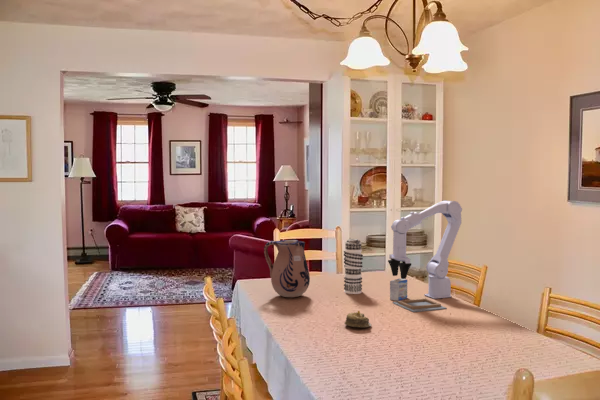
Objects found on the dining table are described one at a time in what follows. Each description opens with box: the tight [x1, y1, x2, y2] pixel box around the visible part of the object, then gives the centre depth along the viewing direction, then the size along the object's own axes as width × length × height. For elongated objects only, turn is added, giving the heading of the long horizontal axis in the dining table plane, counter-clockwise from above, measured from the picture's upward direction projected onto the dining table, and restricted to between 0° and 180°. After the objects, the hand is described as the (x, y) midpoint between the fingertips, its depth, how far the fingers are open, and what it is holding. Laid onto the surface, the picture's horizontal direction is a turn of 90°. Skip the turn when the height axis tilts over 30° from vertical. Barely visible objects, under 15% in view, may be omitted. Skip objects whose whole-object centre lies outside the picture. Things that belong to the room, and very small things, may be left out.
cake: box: [344, 310, 372, 328], centre depth 191 cm, size 10×10×5 cm
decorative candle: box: [343, 238, 364, 295], centre depth 245 cm, size 9×9×25 cm
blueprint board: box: [392, 298, 448, 313], centre depth 219 cm, size 16×16×2 cm
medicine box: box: [389, 278, 408, 302], centre depth 231 cm, size 8×4×9 cm, turn 138°
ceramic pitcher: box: [263, 239, 311, 298], centre depth 237 cm, size 18×21×25 cm
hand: (399, 277), depth 231 cm, fingers open, 7 cm apart
